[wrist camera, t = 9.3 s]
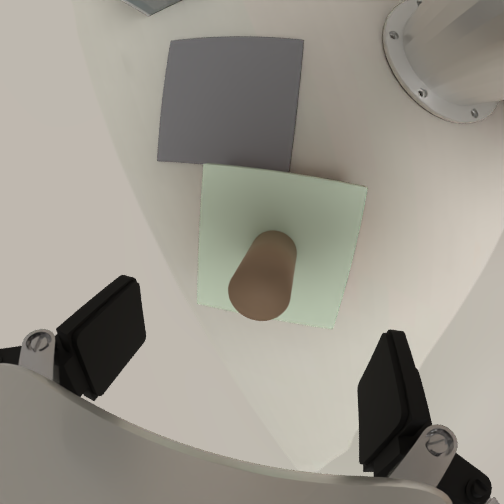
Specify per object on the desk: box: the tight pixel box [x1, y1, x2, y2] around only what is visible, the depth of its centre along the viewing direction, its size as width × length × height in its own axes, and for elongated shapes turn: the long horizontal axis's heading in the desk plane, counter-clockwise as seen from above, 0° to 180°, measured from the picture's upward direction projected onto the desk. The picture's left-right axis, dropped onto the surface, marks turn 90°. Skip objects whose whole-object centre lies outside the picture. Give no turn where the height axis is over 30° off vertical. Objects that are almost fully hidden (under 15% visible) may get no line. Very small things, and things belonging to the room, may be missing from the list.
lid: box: [197, 163, 368, 329], centre depth 18 cm, size 11×11×7 cm
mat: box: [157, 36, 304, 172], centre depth 21 cm, size 12×12×1 cm
